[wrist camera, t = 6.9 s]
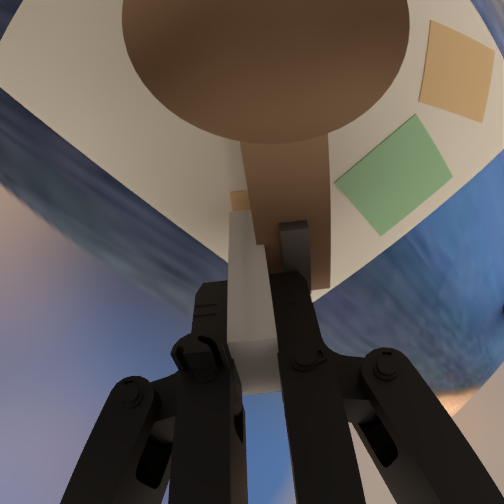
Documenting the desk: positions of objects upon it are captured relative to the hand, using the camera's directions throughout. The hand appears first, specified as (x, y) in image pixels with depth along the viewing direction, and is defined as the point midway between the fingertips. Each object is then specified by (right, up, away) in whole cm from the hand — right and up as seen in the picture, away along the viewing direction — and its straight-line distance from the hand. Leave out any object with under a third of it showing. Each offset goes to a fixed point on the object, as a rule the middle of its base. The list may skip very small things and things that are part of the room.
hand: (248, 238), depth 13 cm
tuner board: (+1, +8, -2) cm, 8 cm away
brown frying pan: (+1, +5, -2) cm, 6 cm away
